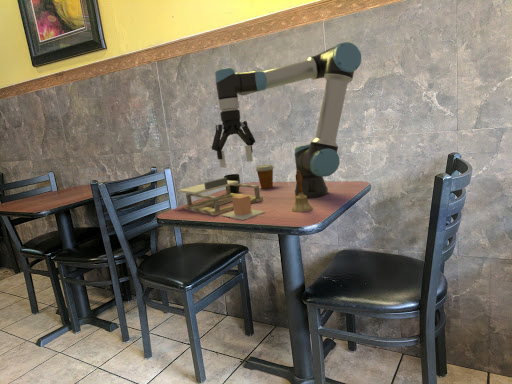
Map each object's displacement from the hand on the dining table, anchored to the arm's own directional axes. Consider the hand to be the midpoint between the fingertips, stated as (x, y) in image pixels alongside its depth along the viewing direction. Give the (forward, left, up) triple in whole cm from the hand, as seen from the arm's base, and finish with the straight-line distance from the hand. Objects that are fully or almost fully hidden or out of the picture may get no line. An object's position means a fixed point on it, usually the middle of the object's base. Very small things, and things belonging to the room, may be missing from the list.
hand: (237, 164), depth 148 cm
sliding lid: (+34, -7, -13) cm, 37 cm away
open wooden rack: (+23, -7, -21) cm, 32 cm away
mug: (+42, -28, -21) cm, 55 cm away
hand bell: (-18, -16, -21) cm, 32 cm away
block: (0, 0, -20) cm, 20 cm away
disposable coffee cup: (+31, -42, -21) cm, 56 cm away
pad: (0, 0, -21) cm, 21 cm away
